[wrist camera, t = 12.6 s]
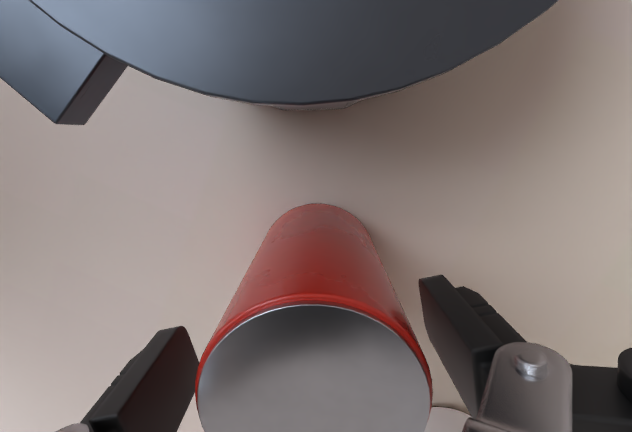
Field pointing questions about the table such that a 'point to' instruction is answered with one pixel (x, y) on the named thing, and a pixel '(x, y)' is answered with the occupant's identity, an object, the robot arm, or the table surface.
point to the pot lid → (293, 42)
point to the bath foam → (446, 420)
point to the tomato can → (314, 338)
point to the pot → (60, 66)
